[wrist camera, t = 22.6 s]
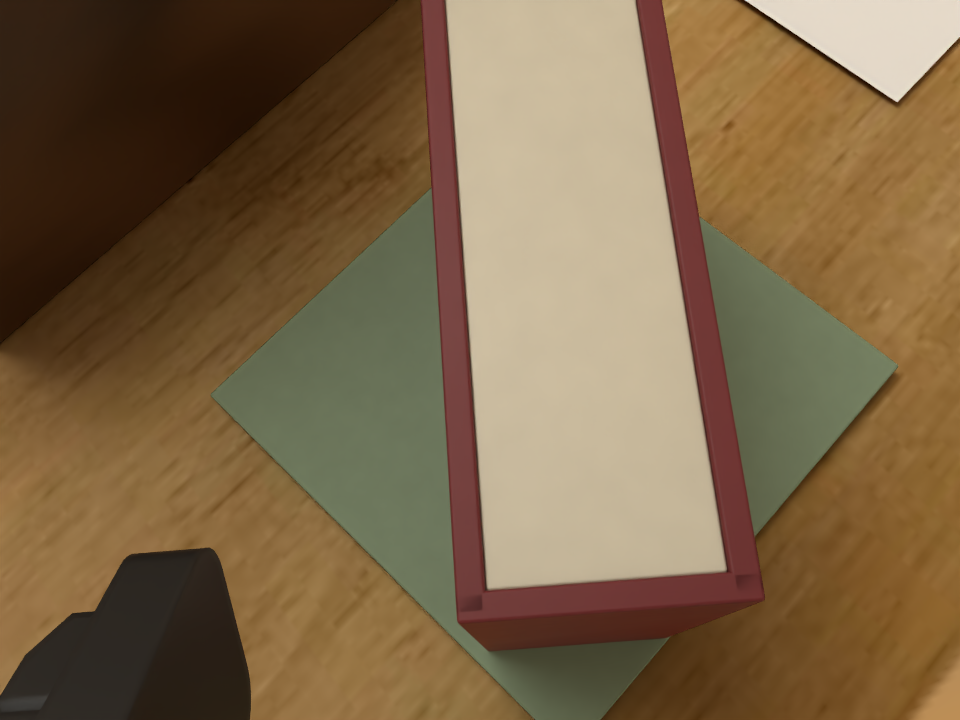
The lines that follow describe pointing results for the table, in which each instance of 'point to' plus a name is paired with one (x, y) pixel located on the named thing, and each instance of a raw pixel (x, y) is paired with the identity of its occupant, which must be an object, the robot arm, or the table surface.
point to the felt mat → (422, 431)
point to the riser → (132, 114)
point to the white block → (874, 35)
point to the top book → (577, 331)
